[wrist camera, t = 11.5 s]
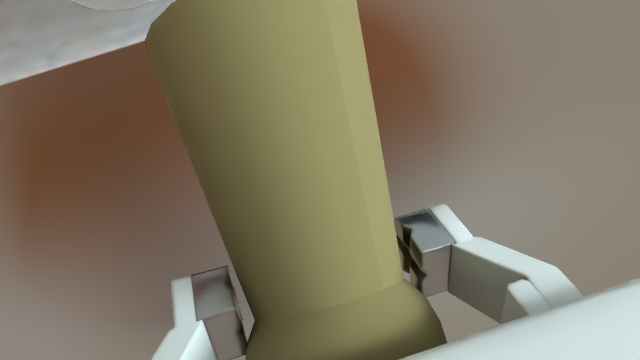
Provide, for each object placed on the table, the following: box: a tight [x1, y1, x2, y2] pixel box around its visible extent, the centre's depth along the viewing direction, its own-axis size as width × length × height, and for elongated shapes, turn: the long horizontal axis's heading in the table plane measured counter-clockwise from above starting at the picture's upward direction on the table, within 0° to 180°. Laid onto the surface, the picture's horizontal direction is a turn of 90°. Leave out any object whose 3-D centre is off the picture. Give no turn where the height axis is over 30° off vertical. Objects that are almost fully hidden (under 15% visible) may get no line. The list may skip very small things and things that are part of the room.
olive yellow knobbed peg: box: [145, 0, 447, 360], centre depth 13 cm, size 6×6×11 cm
